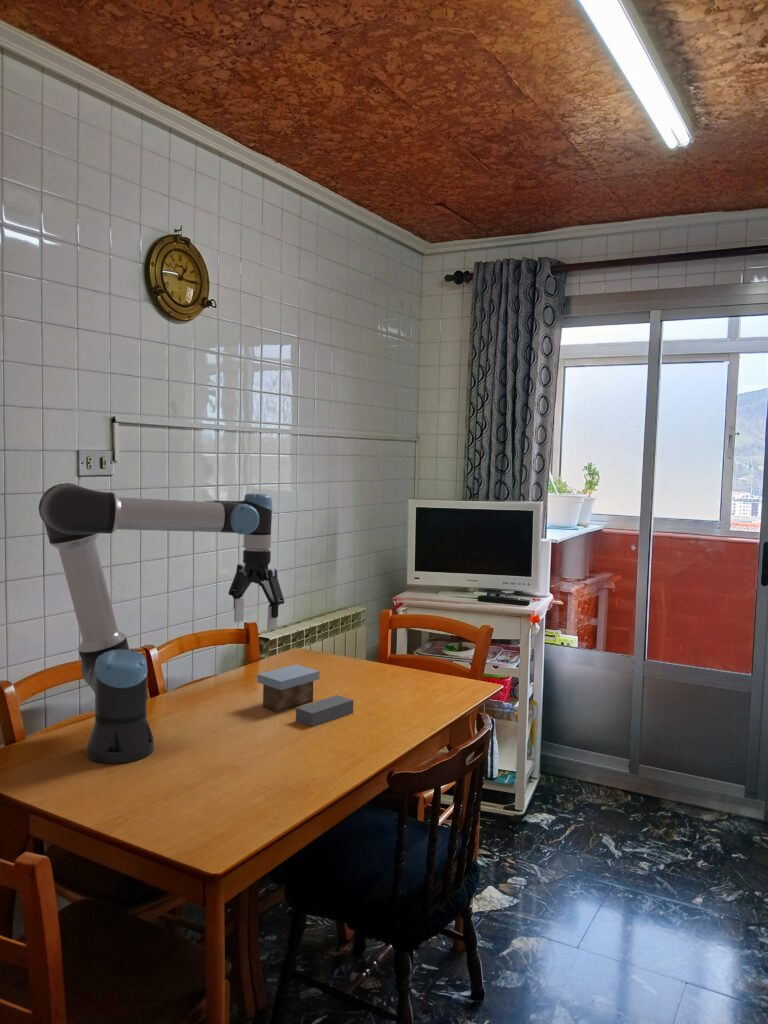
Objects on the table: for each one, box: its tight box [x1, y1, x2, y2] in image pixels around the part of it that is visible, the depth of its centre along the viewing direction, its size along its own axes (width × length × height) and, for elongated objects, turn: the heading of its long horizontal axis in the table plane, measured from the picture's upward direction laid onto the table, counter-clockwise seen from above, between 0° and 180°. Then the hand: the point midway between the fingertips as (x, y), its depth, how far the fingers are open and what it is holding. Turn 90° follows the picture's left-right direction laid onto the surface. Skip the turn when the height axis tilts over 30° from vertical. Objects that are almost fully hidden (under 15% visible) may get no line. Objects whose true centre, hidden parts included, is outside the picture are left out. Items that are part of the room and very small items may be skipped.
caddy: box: [262, 681, 314, 713], centre depth 220 cm, size 14×6×7 cm, turn 139°
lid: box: [256, 664, 321, 690], centre depth 220 cm, size 15×10×2 cm, turn 139°
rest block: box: [295, 694, 354, 728], centre depth 210 cm, size 16×6×4 cm, turn 139°
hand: (254, 625), depth 212 cm, fingers open, 13 cm apart
